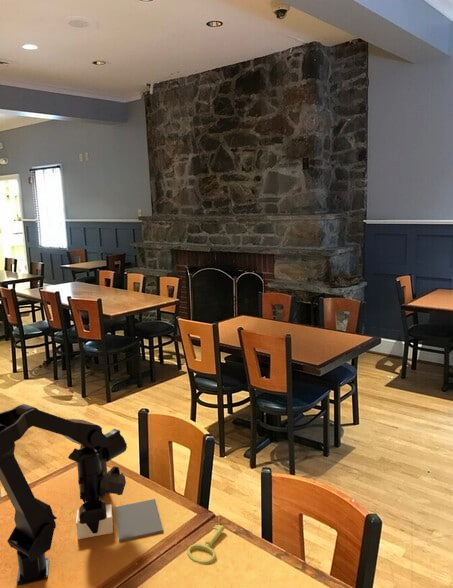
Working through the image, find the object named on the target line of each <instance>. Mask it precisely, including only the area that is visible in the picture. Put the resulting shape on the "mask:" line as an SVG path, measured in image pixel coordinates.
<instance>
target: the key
mask: <svg viewBox="0 0 453 588" xmlns="http://www.w3.org/2000/svg"><path fill="white" fill-rule="evenodd" d="M212 529H213V530H215V531H216V532H214V534H213V535H212V536H211V538H210V539H209V540H207V541H206V542H205V544H202V543H194V544H191V545H189V547H188V548H187V550H186V552H187V553H186V554H187V557H188V559H190V560H191V561H192V562H194V563H197V564H200V565H201V564H202V565H209V564H212V563H214V561H216V558H217V554H216V551H215V550H214V549H213V545H214V544H215V542H216V540H217V539H218V538H219V537H220V535H221V534H222V533H223V531H225V529H226V528H225V526H224V525H219V524H214V526H213V527H212ZM194 550H202V551H205V552H208V553H210V555H212V556H211V557H210V558H207V559H200V558H198V557H196V556H194V555H193V554H192V553H191V552H192V551H194Z"/></svg>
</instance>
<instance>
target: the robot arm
mask: <svg viewBox="0 0 453 588" xmlns="http://www.w3.org/2000/svg"><path fill="white" fill-rule="evenodd" d="M32 427H35V428H38V429H41V430H45V431H48V432H51V433H55V434H58V435H60V436H61V435H62V436H63V437H64V438H66V439H67V440H68V441H71V442H72V443H75V444H77V445H80V446H81V445H82V446H84V447H82V448H79V449H78V448H74V449H73V450H72V451H71V453H70V454H69V456H67V458H68V459H69V460H71V461H73V462H75V463H76V465H77V466H76V467H77V475H78V477H77V478H78V479H77V480H78V481H77V483H78V486H79V500H82V502H83V503H82V504H81V505H80V506H79V508H78V510H79V518H80V523H81V524H85V523H86V524H87V526H88V527H89V528H90V530H91V531H92V533H93V534H94V533H97V532H98V527H99V521H100V520H105V519H106V518H107V514H106V505H107V504H106V502H105V501H103V500H102V499H100V498H102V497H105V496H106V494H105V492H107V494H115V495H117V496H121V495H123V494H124V490H125V487H126V484H127V481H126V476H125V475H124V472H121V470H120V467H119V466H116V465H114V466H112V467H111V468H110V469H109V470H107V473H103V468H101V460H103V461H104V462H106V463H107V462H109V461H111V460H113V459H115V458H117V457H118V456H120V455H121V454H123V453H125V452H126V451H127V448H128V445H127V442H126V440H125V438H124V437H123V435H122V434H121V430H120V429H116V428H113V429H111V430H110V431H109V432H107V433H105V434H104V433H103V427H102V426H100V425H98V424H95V423H93V422H90V421H87V420H84V419H77V418H69V419H68V418H63V417H61V416H58V415H54V414H52V413H49V412H45V411H43V410H40V409H38V408H37V407H34V406H32V405H29V404H25V403H24V404H23V403H22V404H20V405H17V406H15V407H14V408H12V409H9V410H5V411H3V412H0V484H1V485H2V487H3V489H4V491H5V493H6V495H7V497H8V498H9V500H10V503H11V505H12V506H13V508H14V523H15V527H14V528H13V530H12V532H11V533H10V536H9V538H8V539H7V544H8V545H9V546H10V548H12V549H13V550H16V556H17V564H18V570H17V571H18V572H17V576H16V585H17V586H20V585H24V584H28V583H33V582H39V581H41V580H46V579H48V577H49V566H50V557H46V553H47V552H49V551H50V550H51V549H52V542H53V538H54V533H55V529H56V527H57V525H56V524H57V523H56V521H55V520H57V519H58V518H57V517H56V516H55V515H54V512H53V509H52V507H51V505H50V504H48V503H46V502H44V501H43V500H41V499H39V498H37V497H35V495H34V493H33V491H32V489H31V486H30V485H29V483H28V481H27V479H26V477H25V474H24V473H23V470H22V469H21V467H20V465H19V463H18V461H17V458H16V456H15V449H16V442H17V441H18V440H20V439H21V438H22V437H23V436H24V435H25V434H26V432H27V431H28V430H29V429H30V428H32ZM101 496H102V497H101ZM99 497H100V498H99Z"/></svg>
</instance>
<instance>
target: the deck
mask: <svg viewBox="0 0 453 588" xmlns="http://www.w3.org/2000/svg"><path fill="white" fill-rule="evenodd" d="M106 514H107V518H106V519H105V520H100V521H99V527H98V532H97V533H94V534H93V533H92V531H91V530H90V528H89V527H88V526H87V524H86V523H85V524H81V523H80V518H79V509H77V511H76V519H75V525H76V526H75V527H76V535H77V536H76V537H77V540H81V539H87V538H91V537H98V536H104V535H109V534H113V533H114V524H113V523H114V522H113V521H114V518H113V508H112V504H111V503H110V504H106Z"/></svg>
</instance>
